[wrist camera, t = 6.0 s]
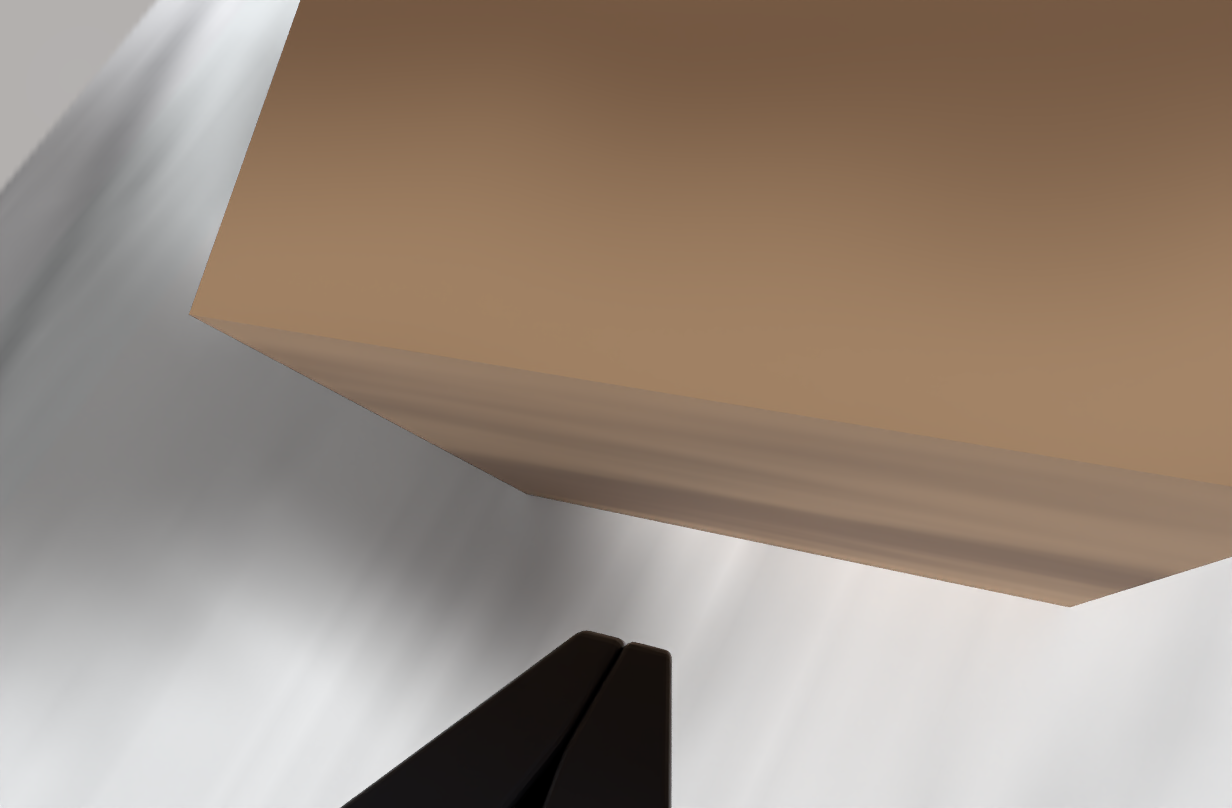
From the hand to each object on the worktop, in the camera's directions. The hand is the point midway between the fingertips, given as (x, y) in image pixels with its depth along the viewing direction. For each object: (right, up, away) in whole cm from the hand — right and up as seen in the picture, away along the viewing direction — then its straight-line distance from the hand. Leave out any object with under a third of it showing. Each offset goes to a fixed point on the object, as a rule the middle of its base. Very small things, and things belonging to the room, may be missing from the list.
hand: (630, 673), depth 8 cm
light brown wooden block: (+3, +2, +9) cm, 10 cm away
